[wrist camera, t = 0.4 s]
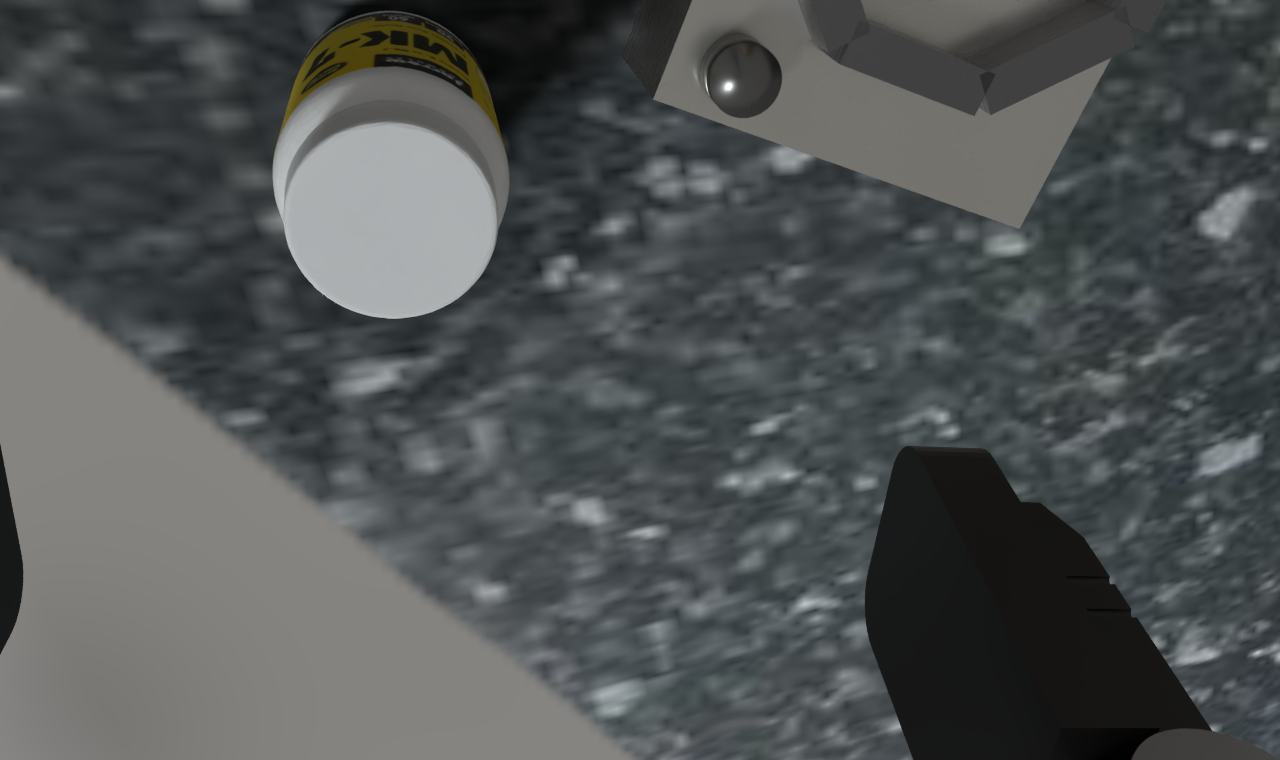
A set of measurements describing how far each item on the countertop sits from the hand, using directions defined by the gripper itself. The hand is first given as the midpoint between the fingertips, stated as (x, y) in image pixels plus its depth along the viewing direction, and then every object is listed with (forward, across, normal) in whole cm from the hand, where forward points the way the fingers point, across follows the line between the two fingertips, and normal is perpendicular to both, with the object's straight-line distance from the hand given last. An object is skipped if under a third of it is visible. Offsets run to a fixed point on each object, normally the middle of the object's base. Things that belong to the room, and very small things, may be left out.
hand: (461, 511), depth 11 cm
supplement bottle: (+21, +2, +3) cm, 21 cm away
